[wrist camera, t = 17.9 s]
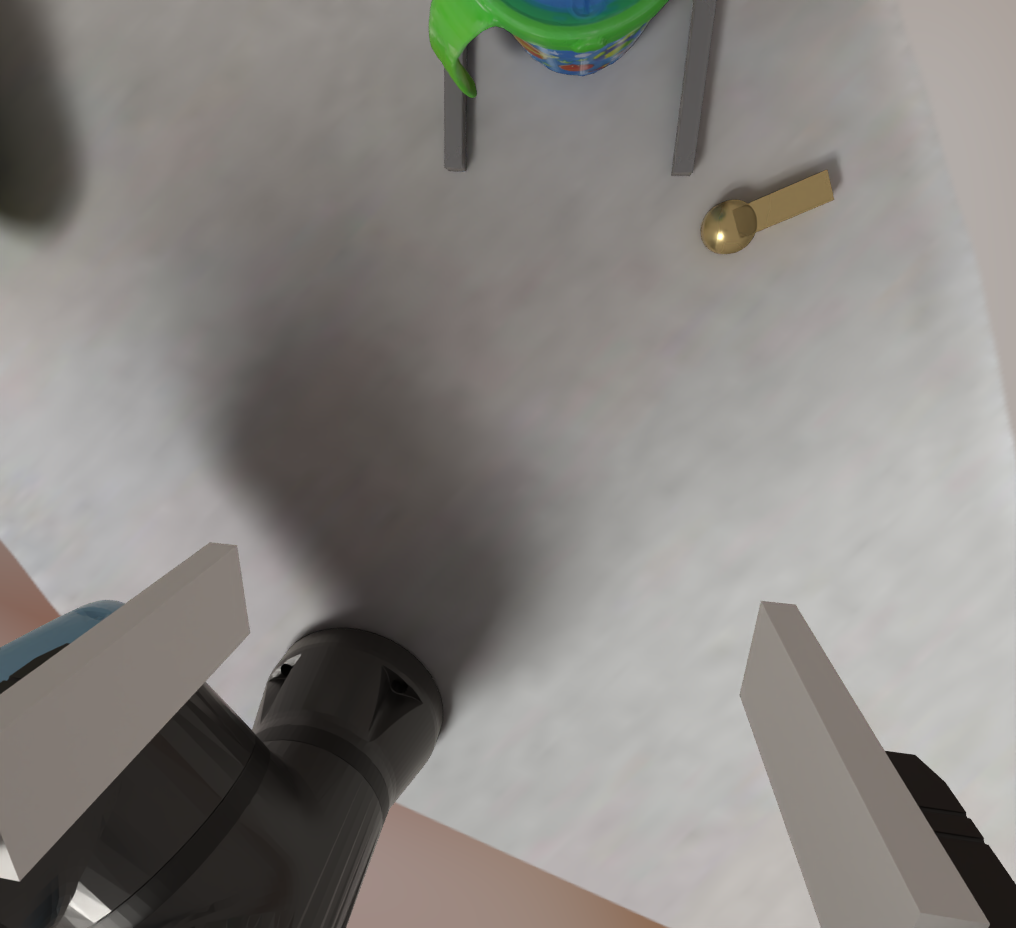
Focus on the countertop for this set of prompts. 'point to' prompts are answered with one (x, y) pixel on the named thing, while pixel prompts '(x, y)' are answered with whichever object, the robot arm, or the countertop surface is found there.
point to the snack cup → (541, 31)
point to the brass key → (761, 213)
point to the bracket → (687, 114)
